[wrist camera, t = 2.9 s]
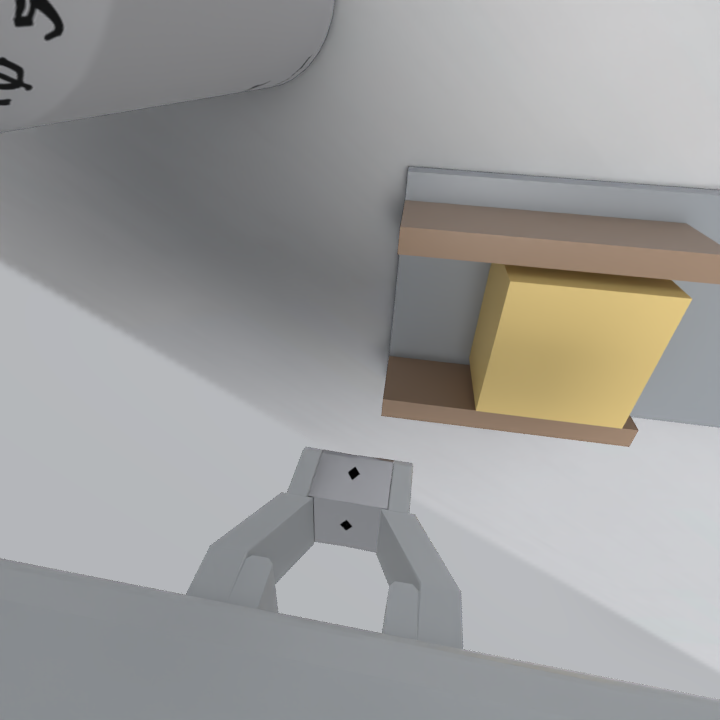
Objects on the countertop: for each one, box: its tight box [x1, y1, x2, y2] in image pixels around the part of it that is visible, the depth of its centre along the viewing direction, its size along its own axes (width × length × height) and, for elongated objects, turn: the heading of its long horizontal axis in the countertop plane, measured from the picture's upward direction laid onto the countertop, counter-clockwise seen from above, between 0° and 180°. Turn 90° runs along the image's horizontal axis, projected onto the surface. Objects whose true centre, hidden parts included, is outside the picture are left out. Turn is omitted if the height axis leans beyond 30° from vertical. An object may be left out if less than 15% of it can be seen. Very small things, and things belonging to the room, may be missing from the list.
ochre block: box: [469, 263, 692, 429], centre depth 18 cm, size 6×6×4 cm
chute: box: [381, 166, 720, 447], centre depth 18 cm, size 20×11×4 cm, turn 87°
